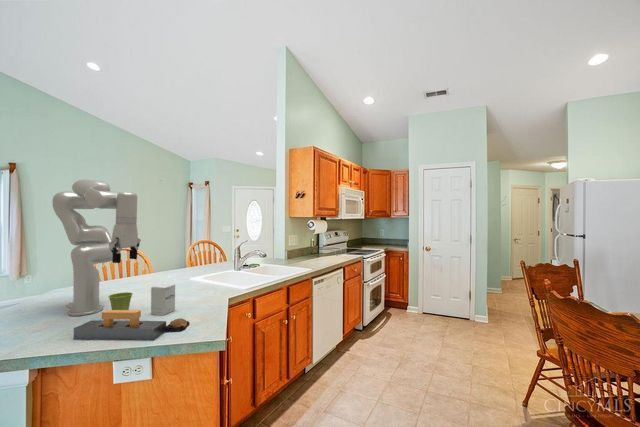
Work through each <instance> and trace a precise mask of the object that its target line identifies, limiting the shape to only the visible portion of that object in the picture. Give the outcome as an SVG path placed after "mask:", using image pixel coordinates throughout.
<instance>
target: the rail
mask: <svg viewBox="0 0 640 427" xmlns="http://www.w3.org/2000/svg"><path fill="white" fill-rule="evenodd" d="M166 326H167V321H166V320H139V326H137V327H130V320H113V325H112V326H110V327H103V319H101V320H89V321H86V322H85V323H83V324H81V325H78V326H75V327H73V340H101V341H103V340H105V341H106V340H107V341H110V340H111V341H118V340H119V341H129V340H130V341H155V340H156V339H158V338H159V337H161V335H163V334H164V333H166Z"/></svg>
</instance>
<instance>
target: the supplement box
mask: <svg viewBox="0 0 640 427" xmlns="http://www.w3.org/2000/svg"><path fill="white" fill-rule="evenodd" d="M150 288H151V289H150V290H151V291H150V315H154V316H155V315H156V316H157V315H158V316H165V315H167V314H169V313H172V312H174V311H176V284H175V283H172V284H171V283H161V284H158V285H154V286H151V287H150Z"/></svg>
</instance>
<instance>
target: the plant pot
mask: <svg viewBox="0 0 640 427" xmlns="http://www.w3.org/2000/svg"><path fill="white" fill-rule="evenodd" d="M132 296H133V292H127V291H126V292H118V293H112V294H110V295H108V297H107V298H108V299H109V301H110V307H111V310H130V305H131V300H132V299H131V298H132Z"/></svg>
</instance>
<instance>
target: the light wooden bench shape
mask: <svg viewBox="0 0 640 427" xmlns="http://www.w3.org/2000/svg"><path fill="white" fill-rule="evenodd" d="M141 312H142V310H140V309H139V310H138V309H135V310H134V309H129V310H112V309H107V310H104V311H101V320H102V321H103V327H110V326H112V325H113V321H114V320H129V321H130V327H137V326H139V321H140V318H141V316H142V313H141Z"/></svg>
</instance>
